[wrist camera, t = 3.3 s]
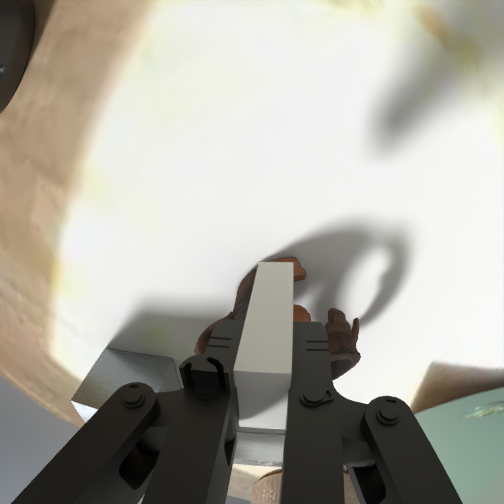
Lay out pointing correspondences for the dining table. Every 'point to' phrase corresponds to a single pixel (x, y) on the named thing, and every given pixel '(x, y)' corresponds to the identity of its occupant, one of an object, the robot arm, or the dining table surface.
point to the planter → (269, 490)
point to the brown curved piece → (337, 326)
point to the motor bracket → (161, 380)
